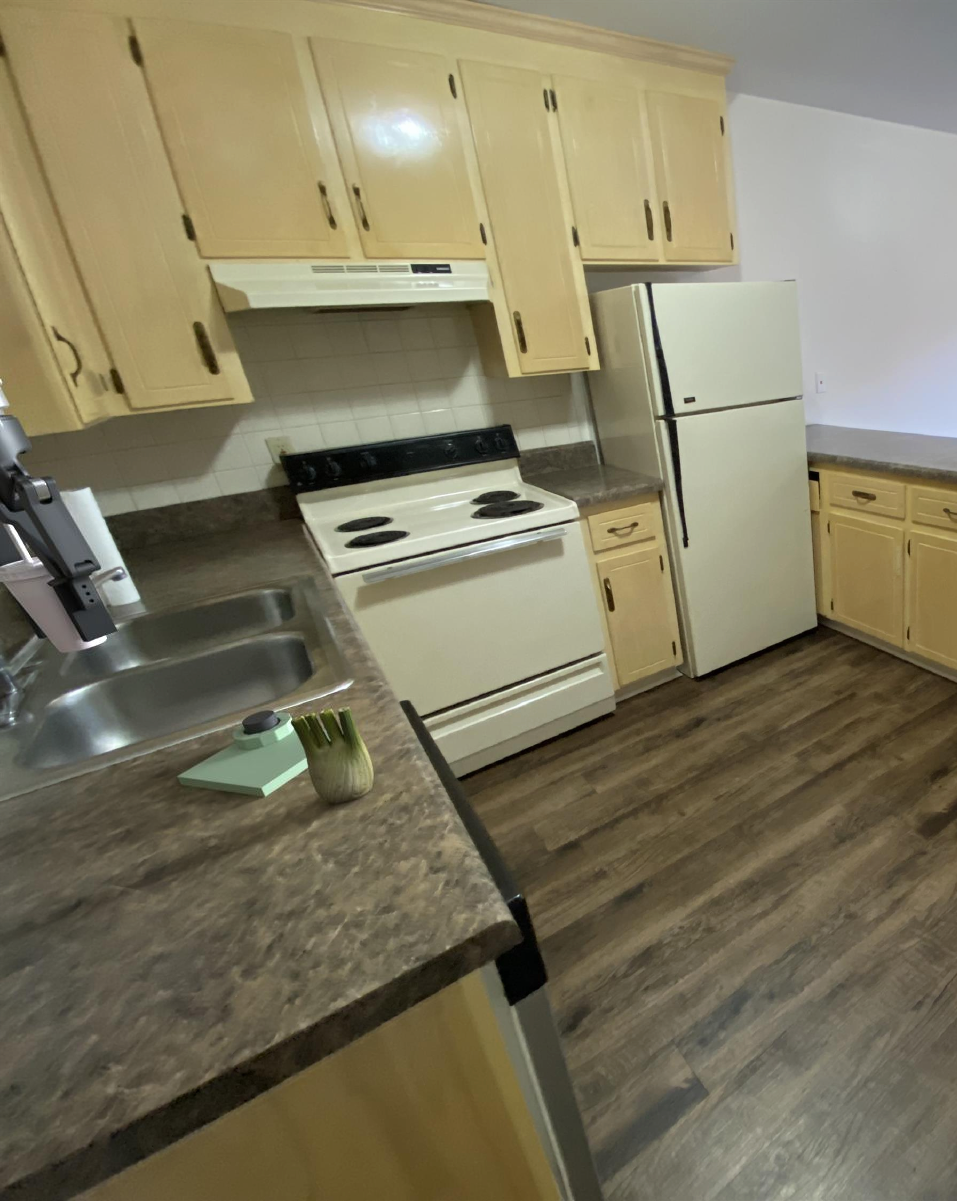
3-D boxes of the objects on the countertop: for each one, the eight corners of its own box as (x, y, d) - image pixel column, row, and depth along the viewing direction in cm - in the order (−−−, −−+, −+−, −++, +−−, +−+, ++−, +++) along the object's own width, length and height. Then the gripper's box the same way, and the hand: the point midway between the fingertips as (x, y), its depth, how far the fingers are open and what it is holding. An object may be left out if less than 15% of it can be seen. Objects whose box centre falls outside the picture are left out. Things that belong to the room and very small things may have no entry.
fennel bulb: (386, 783, 81) (354, 700, 77) (358, 810, 77) (322, 724, 72) (343, 782, 82) (309, 701, 77) (313, 809, 77) (275, 724, 73)
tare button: (240, 734, 89) (234, 723, 88) (265, 719, 92) (260, 709, 92) (260, 736, 88) (255, 725, 88) (285, 721, 91) (280, 711, 91)
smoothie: (26, 656, 69) (-51, 530, 64) (98, 630, 75) (33, 512, 70) (67, 660, 68) (-8, 531, 62) (137, 633, 73) (74, 512, 68)
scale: (179, 785, 84) (169, 766, 82) (274, 728, 95) (266, 711, 94) (265, 797, 80) (255, 777, 79) (353, 737, 92) (345, 719, 90)
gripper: (74, 407, 63) (180, 624, 72) (-53, 415, 68) (61, 616, 77) (-34, 419, 56) (98, 656, 65) (-166, 426, 61) (-26, 645, 70)
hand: (78, 634), depth 71 cm, fingers closed on smoothie, 6 cm apart
